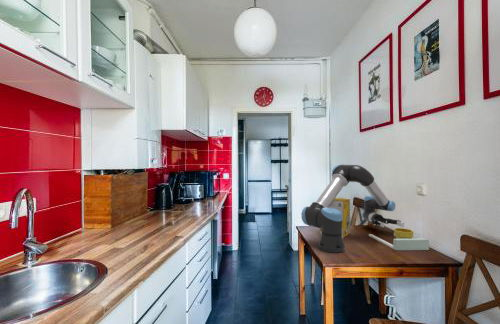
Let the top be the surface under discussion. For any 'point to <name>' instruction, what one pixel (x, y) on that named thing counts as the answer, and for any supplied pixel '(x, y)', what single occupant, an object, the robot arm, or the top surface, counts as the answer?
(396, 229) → the plant pot
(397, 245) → the guide track
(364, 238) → the top surface
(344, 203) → the packaging box
